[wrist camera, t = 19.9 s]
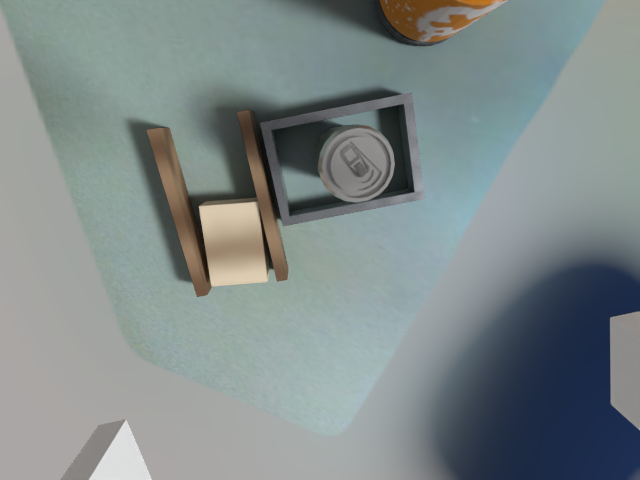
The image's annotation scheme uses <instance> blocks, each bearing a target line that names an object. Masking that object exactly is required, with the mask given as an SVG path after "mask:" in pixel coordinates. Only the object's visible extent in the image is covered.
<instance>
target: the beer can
mask: <svg viewBox="0 0 640 480" xmlns="http://www.w3.org/2000/svg"><path fill="white" fill-rule="evenodd" d="M314 160H315V165H316V168H317V170H318V173H319V175H320V178H321V180H322V181H323V183H324V185H325V187H326V188H327V189H328V190H329V191H330V192H331V193H332V194H333V195H334V196H335V197H337V198H340V199H342V200H344V201H348V202H362V201H367V200H370V199H372V198H374V197H376V196H377V195H379V194H380V193H381V192H382V191H383V190H384V189H385V188H386V187H387V186H388V184H389V182H390V180H391V178H392V176H393V172H394V166H395V162H394V154H393V150H392V148H391V146H390V144H389V141H388V140H387V139H386V138H385V137H384V136H383V135H382V134H381V133H380V132H379V131H377V130H375V129H373V128H371V127H369V126H364V125H357V124H356V125H346V126H339V127H334V128H331V129H330V130H328V131H326V132H325V133H324V134H323V135H322V136H321V137H320V138H319V140H318V142H317V144H316V146H315V151H314Z"/></svg>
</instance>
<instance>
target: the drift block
mask: <svg viewBox="0 0 640 480" xmlns="http://www.w3.org/2000/svg"><path fill="white" fill-rule="evenodd" d="M199 211H200V217H201V223H202V230H203V236H204V243H205V249H206V255H207V262H208V268H209V274H210V281H211V286H223V285H235V284H248V283H260V282H267V281H268V277H269V273H270V271H269V262H268V253H267V244H266V235H265V229H264V224H263V220H262V216H261V212H260V208H259V203H258V199H257V197H256V198H243V199H229V200H216V201H206V202H204V203H203V204H201V205H200V206H199Z"/></svg>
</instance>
